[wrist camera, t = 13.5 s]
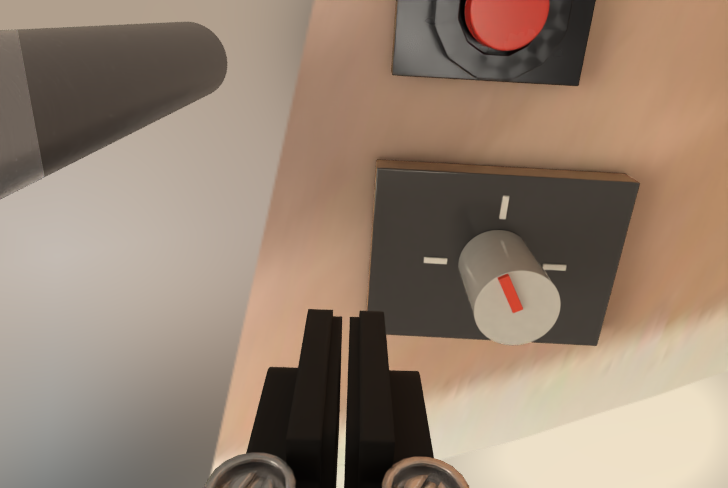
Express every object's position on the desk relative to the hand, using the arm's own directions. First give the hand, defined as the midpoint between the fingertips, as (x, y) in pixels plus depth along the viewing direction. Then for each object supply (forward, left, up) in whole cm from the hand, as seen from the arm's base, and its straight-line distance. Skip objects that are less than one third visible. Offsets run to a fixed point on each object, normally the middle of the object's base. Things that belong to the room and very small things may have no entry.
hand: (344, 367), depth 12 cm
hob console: (+8, -6, -22) cm, 24 cm away
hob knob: (+8, -6, -20) cm, 22 cm away
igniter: (+6, +8, -22) cm, 24 cm away
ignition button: (+6, +8, -19) cm, 21 cm away
